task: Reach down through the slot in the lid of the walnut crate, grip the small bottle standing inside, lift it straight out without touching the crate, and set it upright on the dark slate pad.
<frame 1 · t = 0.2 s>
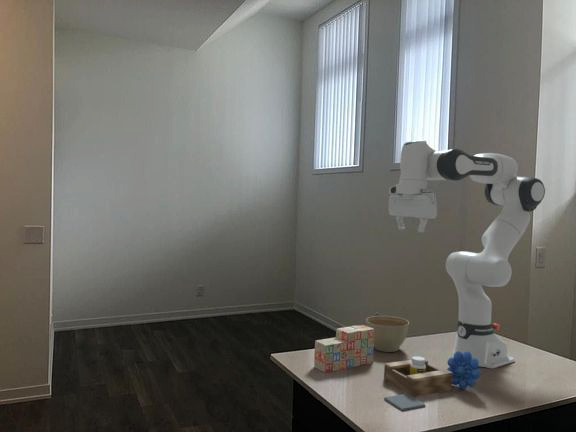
hand: (410, 230, 163), 47 cm above the kitchen island, tool pointing down, fingers open, 8 cm apart
slate pad: (404, 402, 139), on the kitchen island
crate: (417, 384, 153), on the kitchen island
supplement bottle: (417, 385, 153), resting in crate
stack of blocks: (344, 365, 169), on the kitchen island
grapes: (464, 389, 152), on the kitchen island
planter bowl: (386, 349, 189), on the kitchen island
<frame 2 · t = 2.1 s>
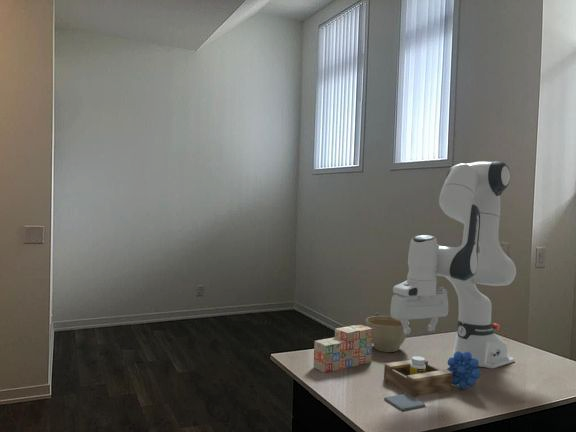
hand: (419, 332, 152), 17 cm above the kitchen island, tool pointing down, fingers open, 8 cm apart
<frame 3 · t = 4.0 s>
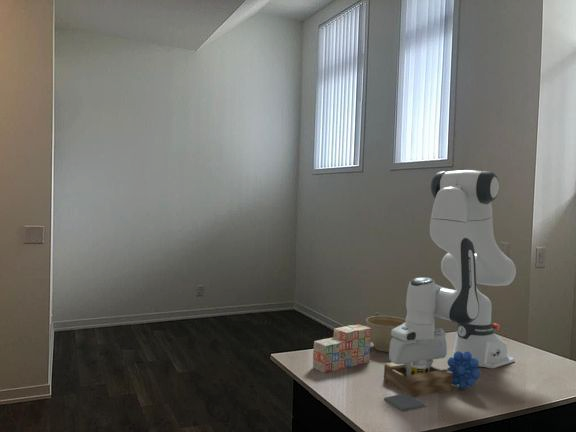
hand: (417, 374, 153), 3 cm above the kitchen island, tool pointing down, fingers closed on supplement bottle, 5 cm apart
supplement bottle: (417, 385, 153), resting in crate, touching gripper
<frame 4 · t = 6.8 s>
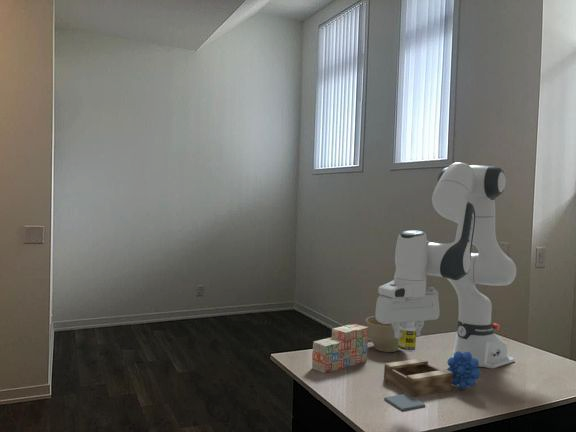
hand: (407, 337, 139), 19 cm above the kitchen island, tool pointing down, fingers closed on supplement bottle, 5 cm apart
supplement bottle: (406, 350, 139), point 15 cm above the kitchen island, touching gripper
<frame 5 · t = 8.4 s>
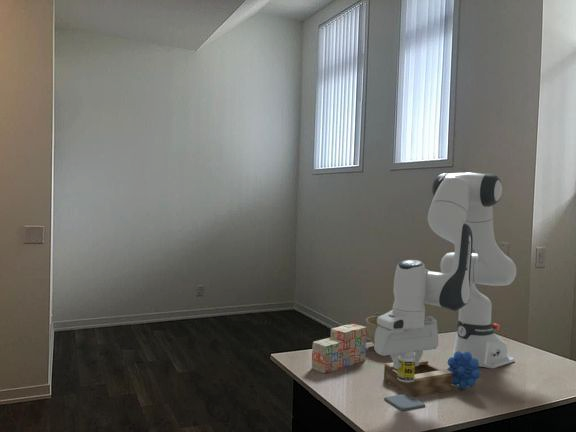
hand: (406, 366, 139), 10 cm above the kitchen island, tool pointing down, fingers closed on supplement bottle, 5 cm apart
supplement bottle: (405, 380, 139), point 7 cm above the kitchen island, touching gripper
when the fingers open (5 cm above the kitchen island, at t = 9.8 s): supplement bottle stays where it is, resting on slate pad.
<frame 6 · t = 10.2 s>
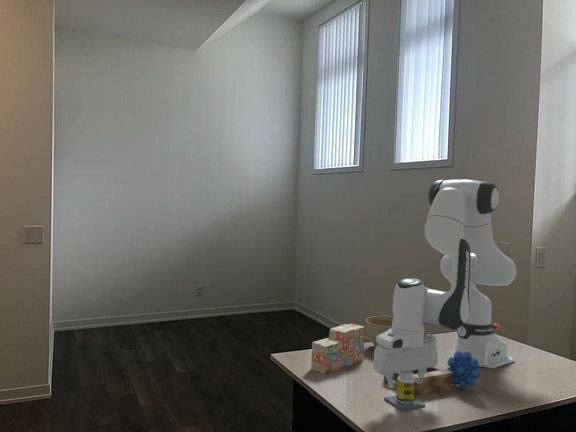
hand: (405, 385, 139), 5 cm above the kitchen island, tool pointing down, fingers open, 8 cm apart
supplement bottle: (404, 401, 139), resting on slate pad
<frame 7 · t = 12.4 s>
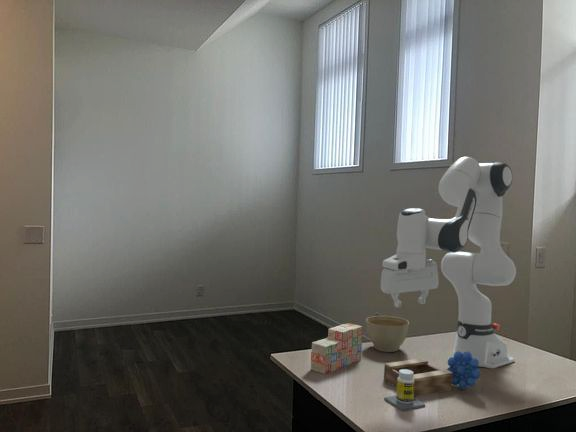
hand: (409, 305, 153), 25 cm above the kitchen island, tool pointing down, fingers open, 8 cm apart
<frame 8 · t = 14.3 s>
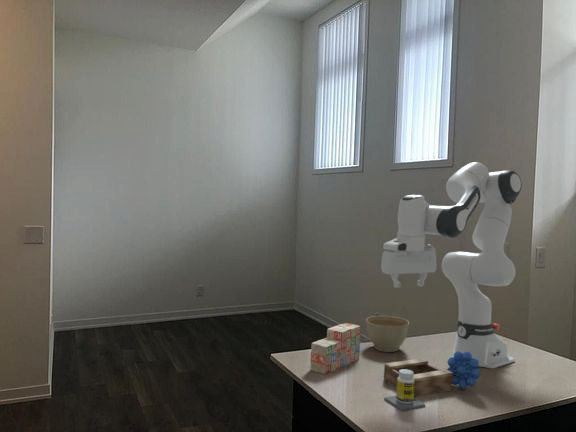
hand: (408, 286, 160), 29 cm above the kitchen island, tool pointing down, fingers open, 8 cm apart
at the end: supplement bottle inside the target area on the slate pad (0.2 cm from its centre), point 0.4 cm above the slate pad's base; supplement bottle tilted 0°; the gripper is holding nothing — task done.
